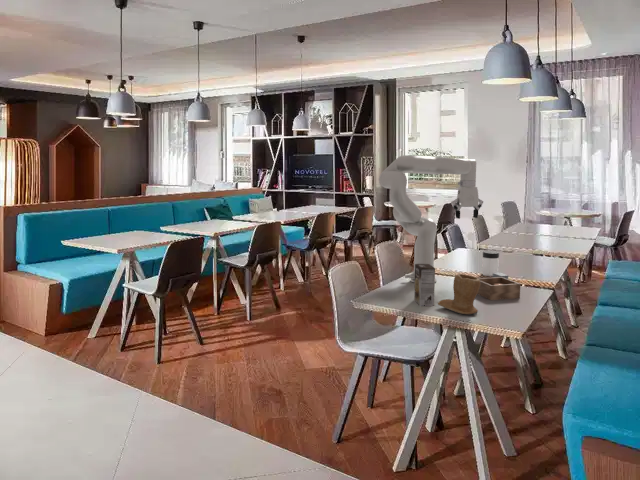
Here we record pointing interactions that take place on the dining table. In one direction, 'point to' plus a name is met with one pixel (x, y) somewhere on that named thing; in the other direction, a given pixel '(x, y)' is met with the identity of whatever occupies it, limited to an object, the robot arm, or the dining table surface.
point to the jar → (490, 263)
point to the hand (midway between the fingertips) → (466, 218)
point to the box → (498, 288)
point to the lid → (500, 275)
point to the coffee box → (424, 284)
